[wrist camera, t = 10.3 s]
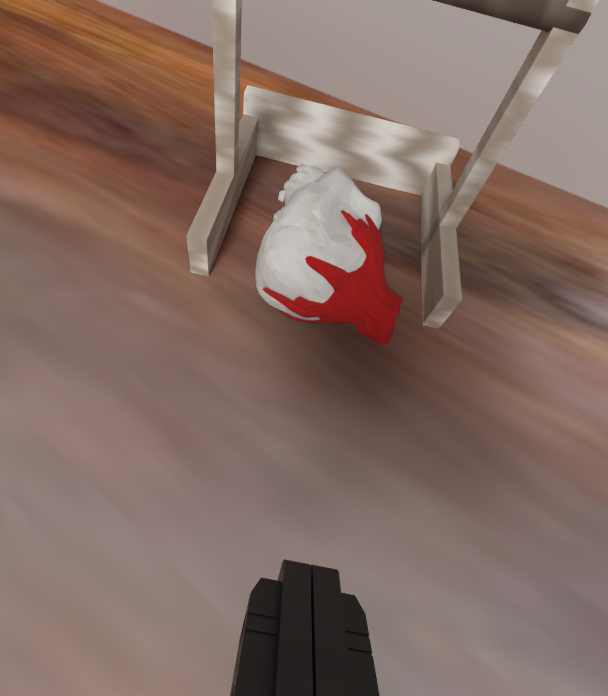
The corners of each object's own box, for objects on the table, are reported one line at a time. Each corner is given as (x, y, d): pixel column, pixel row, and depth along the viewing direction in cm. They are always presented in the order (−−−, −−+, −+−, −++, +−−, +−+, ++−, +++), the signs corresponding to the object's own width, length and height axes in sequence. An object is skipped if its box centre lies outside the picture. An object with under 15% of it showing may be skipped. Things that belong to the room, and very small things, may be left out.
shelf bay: (432, 190, 44) (567, -75, 27) (439, 328, 34) (669, 40, 16) (245, 144, 43) (257, -165, 25) (190, 272, 32) (146, -105, 15)
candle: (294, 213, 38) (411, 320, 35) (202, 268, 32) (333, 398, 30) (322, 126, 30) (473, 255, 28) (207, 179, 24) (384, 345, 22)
